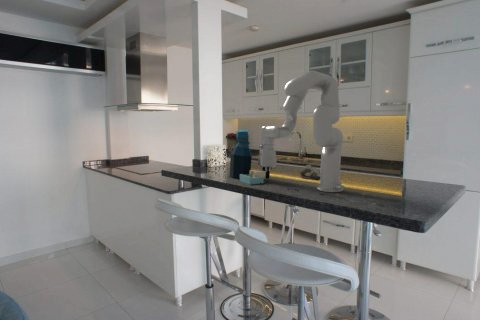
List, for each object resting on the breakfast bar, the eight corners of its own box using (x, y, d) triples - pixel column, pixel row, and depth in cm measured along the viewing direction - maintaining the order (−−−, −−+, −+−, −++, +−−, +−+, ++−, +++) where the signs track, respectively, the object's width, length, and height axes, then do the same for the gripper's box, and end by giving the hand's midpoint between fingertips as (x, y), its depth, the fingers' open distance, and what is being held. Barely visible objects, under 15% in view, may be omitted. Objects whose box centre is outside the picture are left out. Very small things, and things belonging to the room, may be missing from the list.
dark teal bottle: (251, 179, 184) (252, 129, 181) (228, 179, 185) (228, 129, 182) (250, 174, 205) (251, 129, 202) (230, 173, 206) (230, 129, 202)
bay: (263, 183, 171) (263, 176, 171) (249, 184, 167) (249, 177, 167) (253, 180, 182) (253, 173, 182) (239, 181, 178) (239, 174, 178)
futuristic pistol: (317, 188, 184) (325, 174, 180) (298, 175, 191) (305, 161, 188) (319, 187, 186) (326, 174, 182) (299, 175, 193) (306, 161, 190)
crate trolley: (265, 182, 175) (266, 171, 174) (255, 183, 172) (255, 171, 171) (259, 180, 182) (259, 169, 181) (248, 181, 179) (249, 170, 178)
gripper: (259, 147, 171) (258, 180, 173) (281, 147, 177) (280, 178, 179) (253, 147, 178) (252, 178, 180) (274, 146, 184) (274, 176, 186)
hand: (266, 178), depth 179 cm, fingers closed
